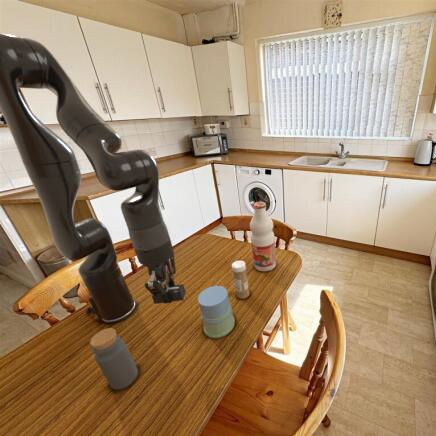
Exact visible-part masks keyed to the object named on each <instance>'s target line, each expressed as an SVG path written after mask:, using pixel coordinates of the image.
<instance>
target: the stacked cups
mask: <svg viewBox="0 0 436 436" xmlns="http://www.w3.org/2000/svg"><path fill="white" fill-rule="evenodd" d="M197 302H198V305H199V309H200V318H201V321H202V323H203V332H204V334H205V335H206V336H207V337H209V338H211V339H220V338H223V337H225V336H227V335H228V334H229V333H230V332H232V330H233V329H234V327H235V323H236V320H235V316H234V315H233V307H232V305H231V302H230V297H229V293H228V290H227V288H226V287H225V286H222V285H211V286H209V287H207V288H205V289H203V290H202V291H201V292H200V293H199V295H198V296H197Z"/></svg>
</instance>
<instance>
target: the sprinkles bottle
mask: <svg viewBox="0 0 436 436" xmlns="http://www.w3.org/2000/svg"><path fill="white" fill-rule="evenodd" d="M246 269H247V266H246V262H245V261H244V260H235V261H234V262H232V263H231V270H232V273H233V280H234V281H233V282H234V285H235V290H236V297H237V298H238V299H241V300H244V299H246V298H248V297H249V296H250V290H249V282H248V276H247V270H246Z"/></svg>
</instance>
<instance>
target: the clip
mask: <svg viewBox="0 0 436 436" xmlns="http://www.w3.org/2000/svg"><path fill="white" fill-rule="evenodd" d="M169 289H170V292H171V296H172V299H173V300H172V302H180V301H184V300H185V296H186V293H187V292H186V288H185V284H184V283H183V284H175V285H174V286H169ZM151 298H152V300H153V304H154V305H156V304H164V303H163V301H162V299H161V296H155V297H154V296H153V295H152V294H151ZM172 302H171V303H172Z"/></svg>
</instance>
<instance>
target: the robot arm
mask: <svg viewBox="0 0 436 436" xmlns="http://www.w3.org/2000/svg"><path fill="white" fill-rule="evenodd" d="M19 89H32V90H33V89H34V90H35V89H36V90H43V89H45V90H46V89H47V90H48V91H50V92H51V93H53V94H54V95H55V96H56V105H55V115H56V120H57V122H58V125H59V126H60V128H61V129H62V131H63V132H64V133H65V134H66V135H67V137H68V138H70V140H72V141H73V143H75V144H76V146H77V147H79V148H80V149H81V150H82V152H83V153H84V155H85V156H86V158H87V160H88V161H89V163H90V165H91V167H92V169H93V171H94V174H95V176H96V178H97V180H98V181H99V183H100V184H101V185H102V186H103V187H105V188H106V189H109V190H111V191H115V192H122V191H126V190H129V189H133V188H135V190H134V192H133V193H132V194H131V195H130V196H129V197H127V198H126V199H125V200H123V201H122V202H121V203H120V210H121V213H122V216H123V219H124V222H125V224H126V227H127V230H128V235H129V239H130V242H131V244H132V247H133V250H134V252H135V255H136V258H137V261H138V263H139V264H141V266H144V267H146V268H147V273H148V276H149V281H145V282H144V288H145V289H146V290H147V291H148V292H149V293H150V294H151V296H152V295H153V296H154V297H155V296H161V299H162V301H163V303H162V304H171V303H172V300H173V299H172V296H171V292H170V289H169V286H174V285H176V283H175V274H176V273H177V271H176V261H175V252H174V251H175V250H174V247H173V243H172V240H171V237H170V233H169V229H168V227H167V225H166V223H165V220H164V217H163V214H162V211H161V210H162V209H161V207H160V203H159V202H160V201H159V197H160V188H159V187H160V173H159V172H160V171H159V167H158V164H157V162H156V160H155V157H153V156H152V155H151V154H150V153H149V152H148V151H147V150H143V149H131V150H126V151H121V152H120V150H121V147H122V144H123V143H122V142H123V141H122V139H121V137H120V136H119V134H118V132H116V130H114V128H113V127H112V126H111V125H110V124H109V123H108V122H107V121H106V120H105V119H104V118H103V117H102V116H101V115H100V114H99V113H98V112H97V111H95V109H94V108H93V107H92V105H90V103H88V101H87V100H86V99H85V97H84V96H83V94H82V93H81V91H80V90H79V88H78V87H77V85H76V84H75V82H74V81H73V80H72V78H71V77H70V76H69V75H68V73H67V71H65V69H64V68H63V66H62V65H61V63H60V62H59V60H58V59H57V58H56V57H55V56H54V54H53V53H52V52H51V51H50V50H49V49H48V48H47V47H46V46H45V45H44V44H42V43H41V42H39V41H37V40H35V39H32V38H28V37H24V36H18V35H14V34H13V35H12V34H8V33H2V32H0V112H1V114H2V116H3V118H4V121H5V123H6V125H7V127H8V129H9V131H10V134H11V136H12V139H13V142H14V143H15V146H16V149H17V152H18V154H19V156H20V159H21V162H22V164H23V166H24V168H25V171H26V173H27V176H28V178H29V180H30V181H31V183H32V185H33V188H34V190H35V193H36V196H37V197H38V199H39V202H40V205H41V206H42V209H43V212H44V215H45V218H46V222H47V225H48V229H49V232H50V235H51V238H52V242H53V244H54V246H55V248H56V250H57V251H58V252H59V254H60V255H61V256H62V257H63V258H64V259H67V260H68V261H71V262H72V261H73V262H75V261H76V262H77V261H80V260H82V259H84V258H85V260H84V261H83V262H82V263H81V264H80V265H79V267H78V269H77V271H78V274H79V276H80V278H81V280H82V282H83V283H84V286H85V288H86V290H87V292H88V294H89V297H88V302H89V303H90V306H88V307H87V308H86V312H85V313H86V314H87V315H88V314H93V315H96V317H97V318H98V320H99V321H100V322H104V323H105V324H115V323H118V322H120V321H122V320H124V319H126V318H128V317H129V316H130V315H132V314H133V312H134V311H135V310H136V307H137V306H136V302H135V301H134V299H133V298H134V297H133V295H132V294H131V291H130V289H129V286H128V284H127V282H126V279H125V277H124V274H123V273H122V270H121V267H120V265H119V263H118V254H117V251H116V249H115V246H114V242H113V239H112V236H111V234H110V232H109V229H108V228H107V226H105V224H104V223H103V222H102V221H101V220H99V219H97V218H86V219H83V220H80V221H78V222H76V223H75V219H74V207H75V203H76V201H77V197H78V194H79V192H80V189H81V186H82V185H81V184H82V172H81V169H80V166H79V163H78V160H77V158H76V154H75V152H74V150H73V148H72V147H71V146H70V145H69V144H68V143H67V142H66V141H64V139H63V138H61V137H60V136H59V135H58V134H57V133H56V132H54V131H53V130H52V129H51V128H50V127H48V126H47V125H46V124H45V123H44V122H43V121H42V120H40V119H39V118H38V116H36V115H35V113H33V111H32V110H31V108H30V107H29V106H28V104H27V103H26V101H25V99H24V98H23V95H22V94H21V92H20V90H19Z"/></svg>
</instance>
